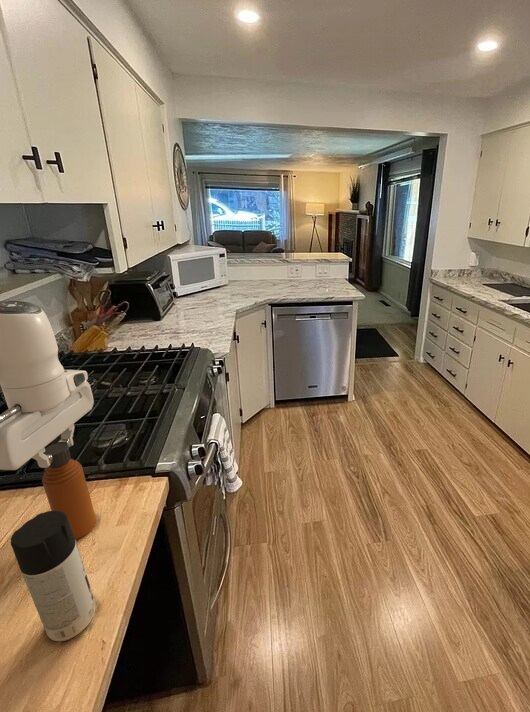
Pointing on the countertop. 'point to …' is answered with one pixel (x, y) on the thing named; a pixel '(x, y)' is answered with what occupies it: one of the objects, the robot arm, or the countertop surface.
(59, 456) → the cap
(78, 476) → the bottle
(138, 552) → the countertop surface
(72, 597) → the spray can
